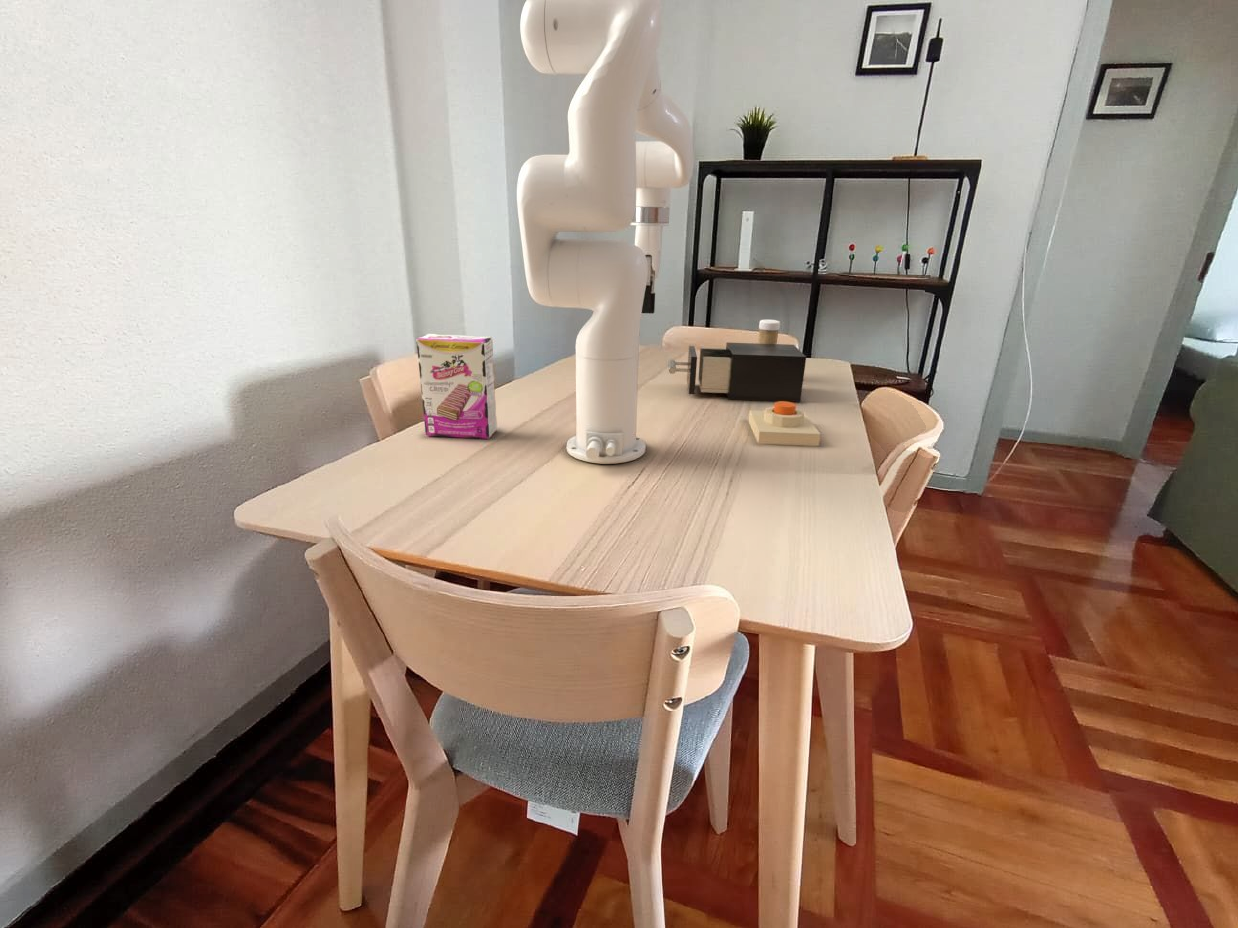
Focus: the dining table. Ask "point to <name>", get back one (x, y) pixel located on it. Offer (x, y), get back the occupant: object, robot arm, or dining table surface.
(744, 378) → the black drawer cabinet
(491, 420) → the candy bar box
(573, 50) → the robot arm
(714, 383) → the drawer with knob
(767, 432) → the cream button base
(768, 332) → the sprinkles bottle
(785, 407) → the button
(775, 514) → the dining table surface
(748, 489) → the dining table surface
